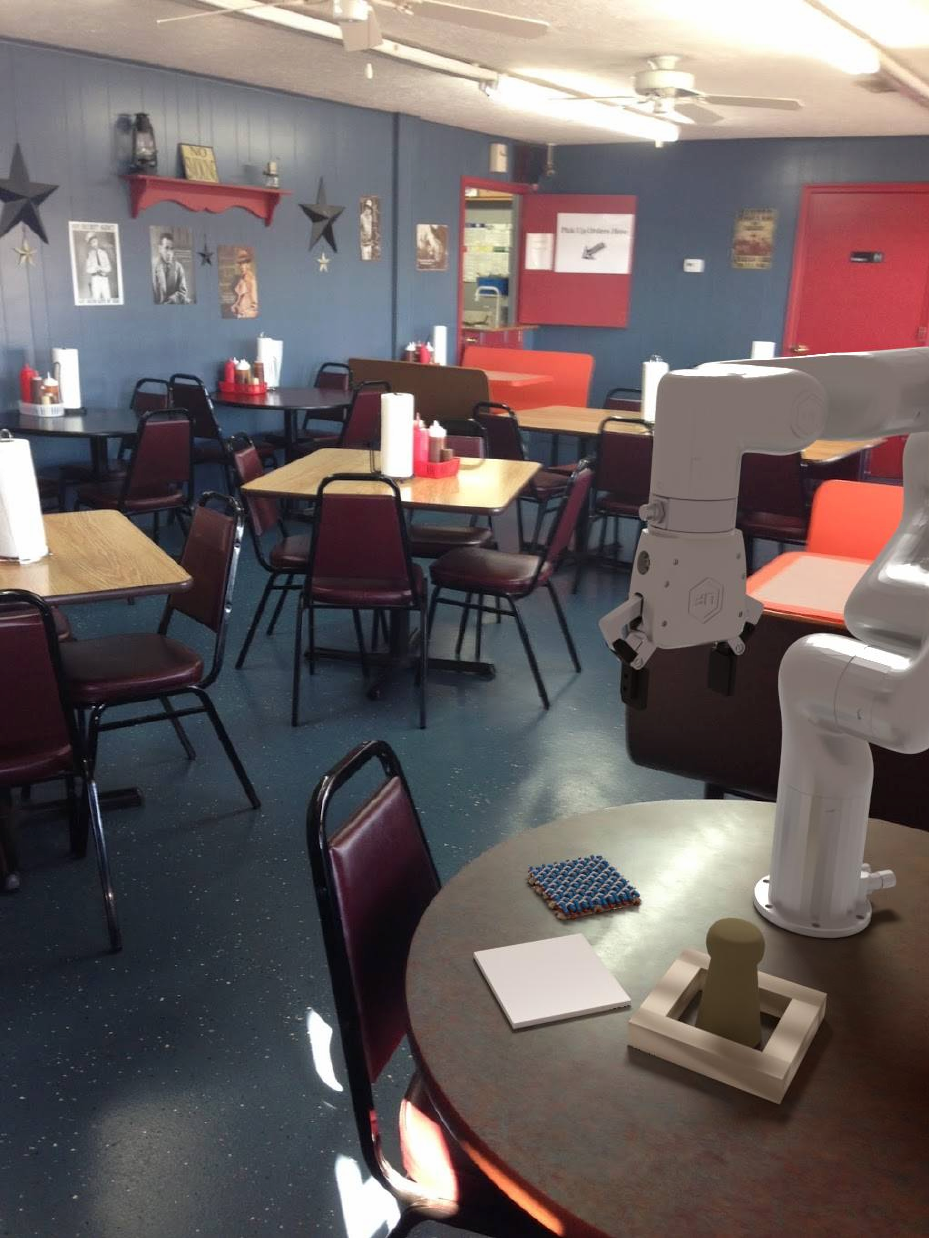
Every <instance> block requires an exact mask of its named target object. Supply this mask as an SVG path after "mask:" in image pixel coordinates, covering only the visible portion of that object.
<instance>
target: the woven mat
mask: <svg viewBox="0 0 929 1238" xmlns="http://www.w3.org/2000/svg"><path fill="white" fill-rule="evenodd" d="M594 855H595V854H592V855H590V856H589V857H590V858H589V857H584V858H582V857H578V858H577V859H573V860H571V861H570V859H566V860H565V862H564V861H562V862H559V863H558V862H557V861H554V862H553V864H547V866H546V864H545V863H542V864H541V866H535V869H534V867H533V866H529V868H528V870H527V874H526V875H527V876H528V877H525V878H524V880H525V881H528V883H529V884H530V885H533V884H534V885H535V886H532V889H533V890H536V893H538V894H540V895H543V896H542V898H543V899H544V900H545V899H547V900H546V902H547V904H548V907H549V908H550V909H552V910H553V909H555V910H554V911H553V912H552V913H553V915H554V914H557V918H558V919H560V920H567V918H568V919H572V920H574V919H576V917H582V916H588V915H591V914H592V913H593V914H595V913H597V914H600V913H602V912H606V910H607V911H610V909H612V910H615V909H614V908H617V909H620V908H619V907H622V908H625V906H626V907H630V905H631V906H633V905H634V906H639V905H641V903H642V902H643V901H642V898H640V897H641V894H640V893H639V892H638V890H636V889H637V888H636V886H633V885H631V884H629V882H630V880H629V879H626V878H624V877H625V876H624V875H623V874H621V873H620V871H618V868H617V867H614V866H612V865H610V864H611V862H609V861H608V860H607V858H606V857H604V858H603V856H602V855H596V856H594ZM623 899H624V900H623ZM604 910H605V911H604Z"/></svg>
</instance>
